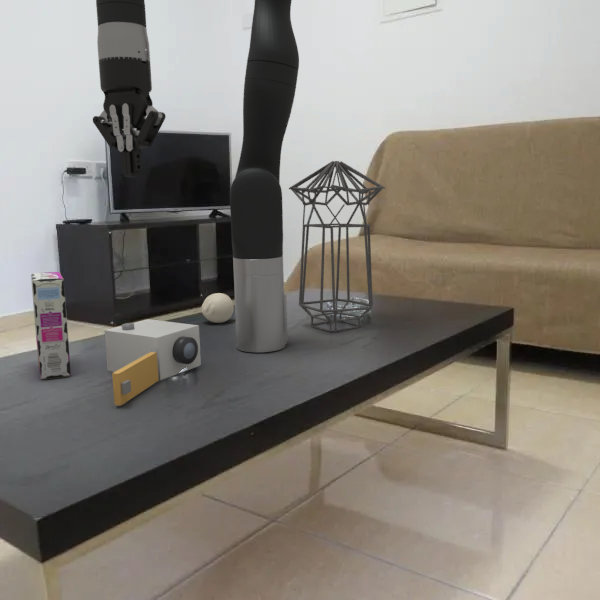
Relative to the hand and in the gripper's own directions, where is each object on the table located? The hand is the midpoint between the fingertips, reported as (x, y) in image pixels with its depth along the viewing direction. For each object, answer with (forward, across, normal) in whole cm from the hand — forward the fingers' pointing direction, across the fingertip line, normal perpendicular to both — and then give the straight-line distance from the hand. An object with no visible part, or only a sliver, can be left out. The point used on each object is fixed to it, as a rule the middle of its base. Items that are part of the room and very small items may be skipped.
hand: (132, 176), depth 100 cm
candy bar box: (+32, -17, -4) cm, 36 cm away
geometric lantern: (+32, +14, +46) cm, 58 cm away
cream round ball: (+32, -13, +39) cm, 52 cm away
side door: (+32, +6, -8) cm, 33 cm away
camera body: (+32, -2, +4) cm, 32 cm away
